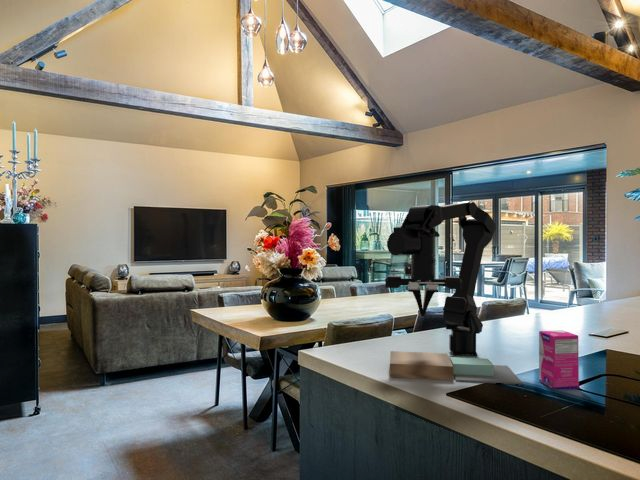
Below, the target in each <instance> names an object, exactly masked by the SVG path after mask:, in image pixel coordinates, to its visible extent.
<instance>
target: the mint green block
mask: <svg viewBox="0 0 640 480" xmlns="http://www.w3.org/2000/svg"><path fill="white" fill-rule="evenodd" d="M449 359H450V361H451V363H452V365H453V374H462V375H484V376H494V365H495V364H493V363H492V361H491V360H490V359H489V358H483V357H481V358H480V357H479V358H478V357H454V356H453V357H452V356H451V357H450V356H449Z"/></svg>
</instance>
